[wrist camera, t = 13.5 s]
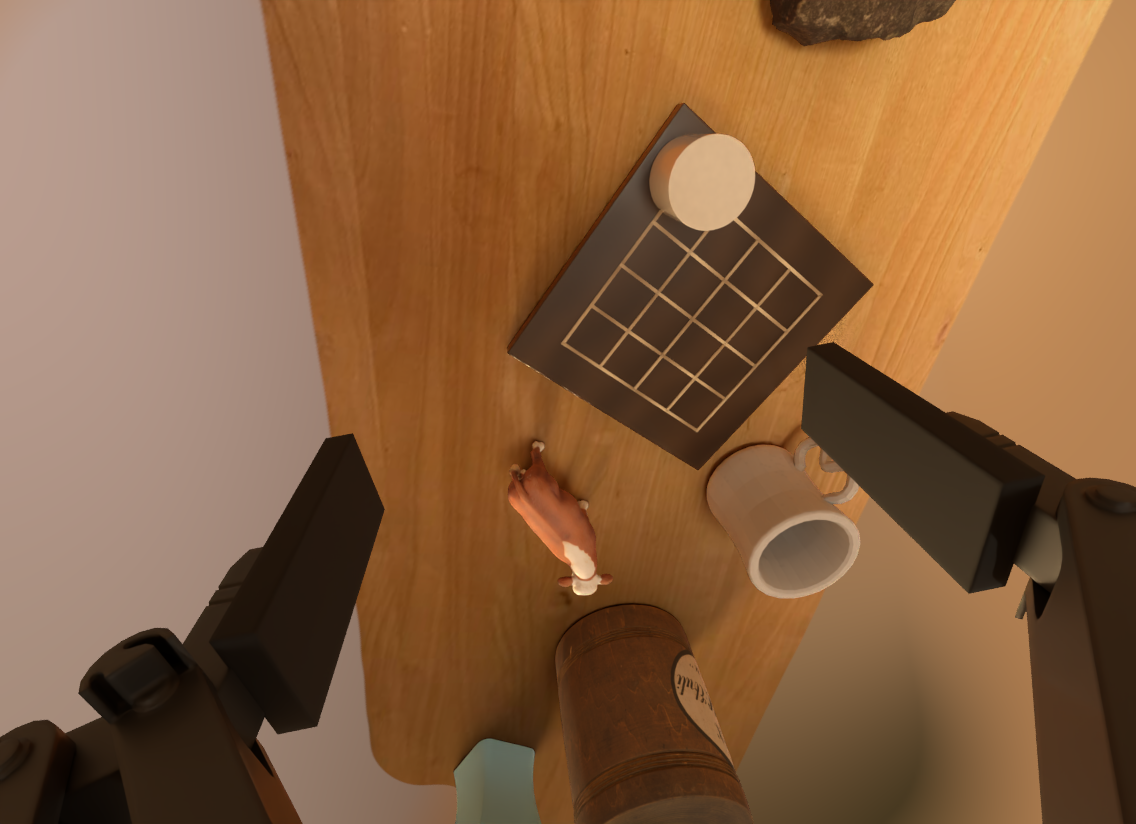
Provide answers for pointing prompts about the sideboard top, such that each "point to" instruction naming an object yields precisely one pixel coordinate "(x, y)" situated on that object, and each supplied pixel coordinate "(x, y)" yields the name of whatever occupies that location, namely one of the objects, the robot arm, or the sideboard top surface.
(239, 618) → the robot arm
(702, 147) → the white short cylinder
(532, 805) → the blue toy chair
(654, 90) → the sideboard top surface
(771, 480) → the mug
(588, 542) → the bull figurine
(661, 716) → the wooden container
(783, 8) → the stone
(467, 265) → the sideboard top surface
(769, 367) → the grid board
